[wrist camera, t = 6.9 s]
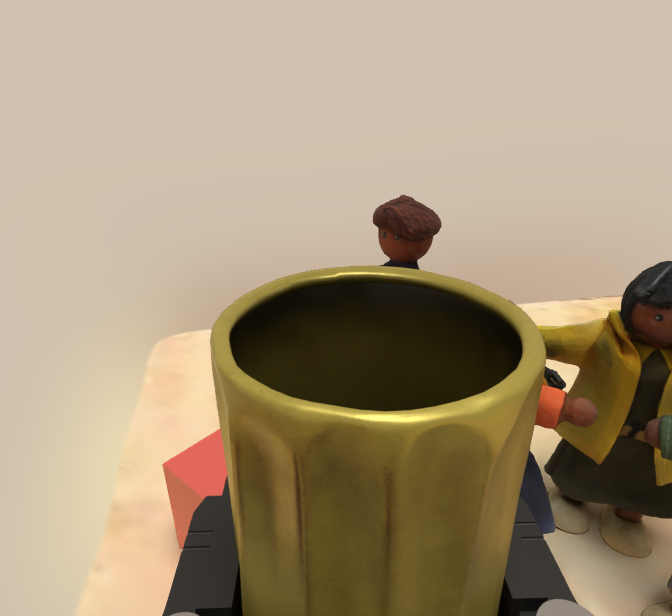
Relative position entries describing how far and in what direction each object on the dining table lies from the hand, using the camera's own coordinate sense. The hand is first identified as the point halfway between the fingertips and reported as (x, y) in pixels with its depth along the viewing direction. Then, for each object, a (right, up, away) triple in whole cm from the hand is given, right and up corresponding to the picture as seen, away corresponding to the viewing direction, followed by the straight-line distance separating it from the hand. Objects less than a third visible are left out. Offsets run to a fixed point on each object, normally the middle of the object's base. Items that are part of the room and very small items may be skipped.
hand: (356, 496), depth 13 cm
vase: (0, -8, +1) cm, 8 cm away
